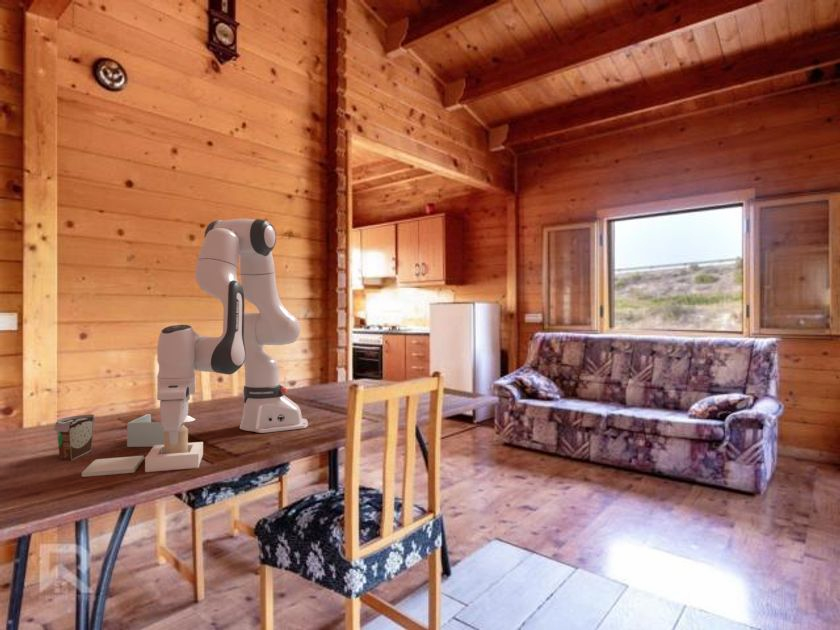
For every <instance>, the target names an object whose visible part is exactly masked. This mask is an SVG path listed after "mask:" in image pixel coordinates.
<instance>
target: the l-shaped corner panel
mask: <svg viewBox="0 0 840 630" xmlns="http://www.w3.org/2000/svg"><path fill="white" fill-rule="evenodd" d="M126 424H127V425H126V426H127V427H126V446H127V447H128V448H131V447H132V448H133V447H137V448H139V447H140V448H142V447H144V448H145V447H146V448H148V447H151V448H153V446H154V445H164V431H163V429H162V425H161V421H156V422H155V421H152V414H151V413H148V414H144V415H141V416H140V417H138V418H135V419H133V420H131V421H129V422H127V423H126ZM127 447H126V448H127Z"/></svg>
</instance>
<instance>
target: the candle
mask: <svg viewBox="0 0 840 630" xmlns="http://www.w3.org/2000/svg"><path fill="white" fill-rule="evenodd" d="M188 439H189V429H188V428H187V427H186V426H185V425H184V423H183V424H182V425H181V426H180V428H179V430H178V443H177V444H174V445H171V444H170V436H169V431H164V454H173V453H186V452H188V443H189V440H188Z"/></svg>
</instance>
